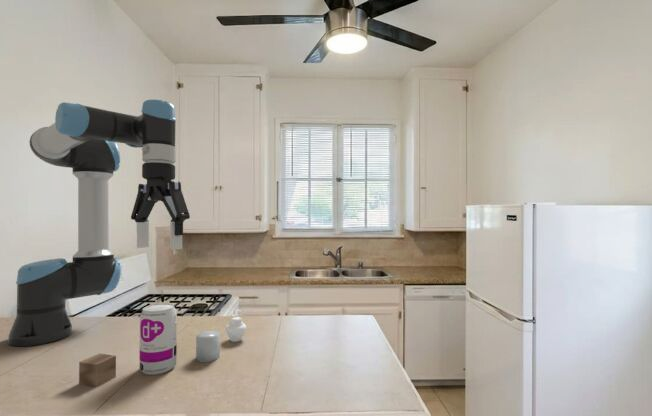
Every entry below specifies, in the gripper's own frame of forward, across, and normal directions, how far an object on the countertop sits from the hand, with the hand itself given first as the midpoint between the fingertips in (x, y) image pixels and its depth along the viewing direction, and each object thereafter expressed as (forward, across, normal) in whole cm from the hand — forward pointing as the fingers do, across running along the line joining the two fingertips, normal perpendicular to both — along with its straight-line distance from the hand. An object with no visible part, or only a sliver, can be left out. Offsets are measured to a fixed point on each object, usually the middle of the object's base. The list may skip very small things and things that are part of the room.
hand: (158, 248), depth 88 cm
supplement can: (+30, 0, 0) cm, 30 cm away
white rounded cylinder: (+30, +5, +11) cm, 32 cm away
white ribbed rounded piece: (+30, +2, +24) cm, 38 cm away
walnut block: (+29, -6, -11) cm, 32 cm away
